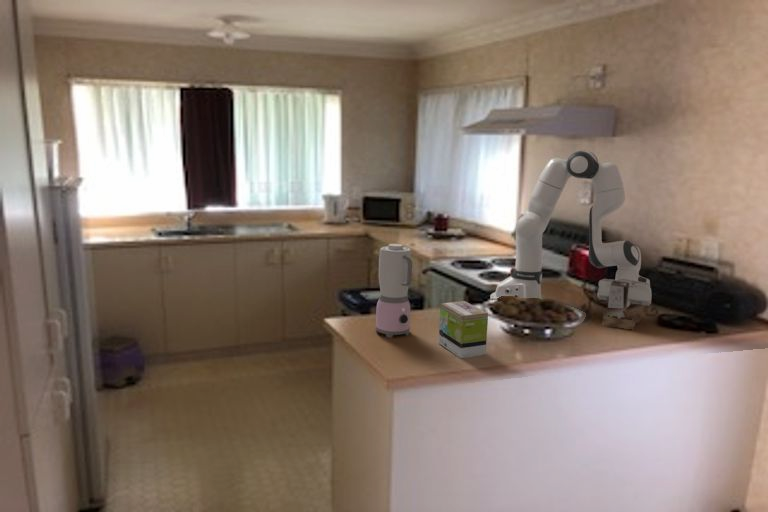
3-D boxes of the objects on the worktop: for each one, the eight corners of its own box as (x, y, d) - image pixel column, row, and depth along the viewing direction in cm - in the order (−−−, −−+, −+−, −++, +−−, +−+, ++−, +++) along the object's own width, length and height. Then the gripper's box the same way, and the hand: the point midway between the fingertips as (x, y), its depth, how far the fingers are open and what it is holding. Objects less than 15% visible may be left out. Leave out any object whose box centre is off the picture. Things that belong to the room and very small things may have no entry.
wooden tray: (598, 325, 230) (599, 316, 229) (602, 316, 241) (603, 308, 240) (636, 331, 224) (637, 322, 223) (639, 322, 235) (640, 313, 234)
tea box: (437, 344, 203) (439, 302, 200) (462, 340, 207) (465, 299, 204) (460, 359, 189) (462, 314, 186) (486, 355, 193) (489, 311, 190)
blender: (368, 330, 215) (371, 243, 209) (396, 325, 222) (399, 240, 215) (393, 343, 202) (396, 250, 196) (421, 337, 209) (426, 248, 203)
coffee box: (623, 328, 227) (627, 287, 224) (605, 325, 230) (609, 284, 227) (625, 322, 235) (629, 282, 232) (608, 319, 238) (612, 280, 235)
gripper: (599, 274, 244) (594, 302, 237) (653, 280, 235) (649, 310, 229) (599, 282, 249) (594, 310, 242) (653, 288, 240) (649, 318, 233)
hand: (621, 310), depth 235 cm, fingers closed, pressing on coffee box
